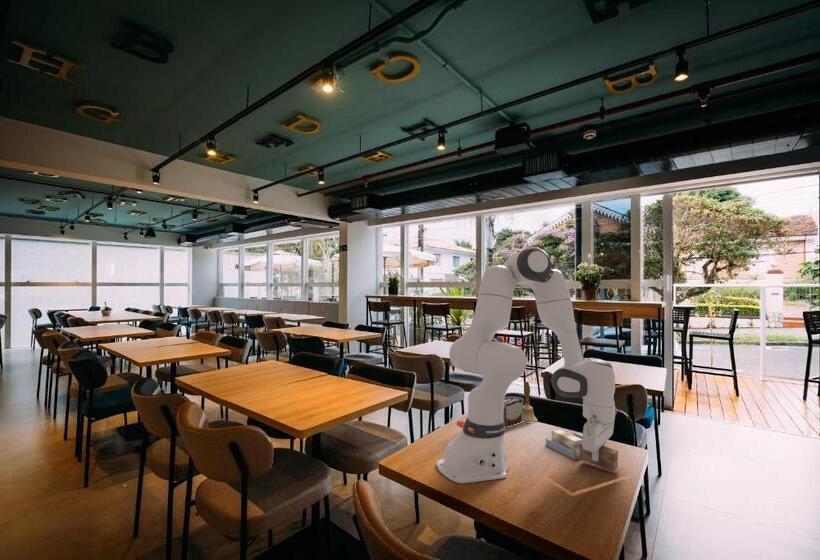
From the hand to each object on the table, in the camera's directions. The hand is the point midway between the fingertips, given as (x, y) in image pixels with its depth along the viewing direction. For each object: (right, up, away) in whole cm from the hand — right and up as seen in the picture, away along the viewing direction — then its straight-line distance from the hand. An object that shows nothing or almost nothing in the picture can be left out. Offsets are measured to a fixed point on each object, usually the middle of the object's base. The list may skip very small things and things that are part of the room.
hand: (598, 457), depth 119 cm
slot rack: (-1, -4, +14) cm, 15 cm away
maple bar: (-5, -3, +12) cm, 14 cm away
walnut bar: (0, -2, 0) cm, 2 cm away
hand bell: (-9, -4, +44) cm, 45 cm away
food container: (-18, -4, +39) cm, 43 cm away
